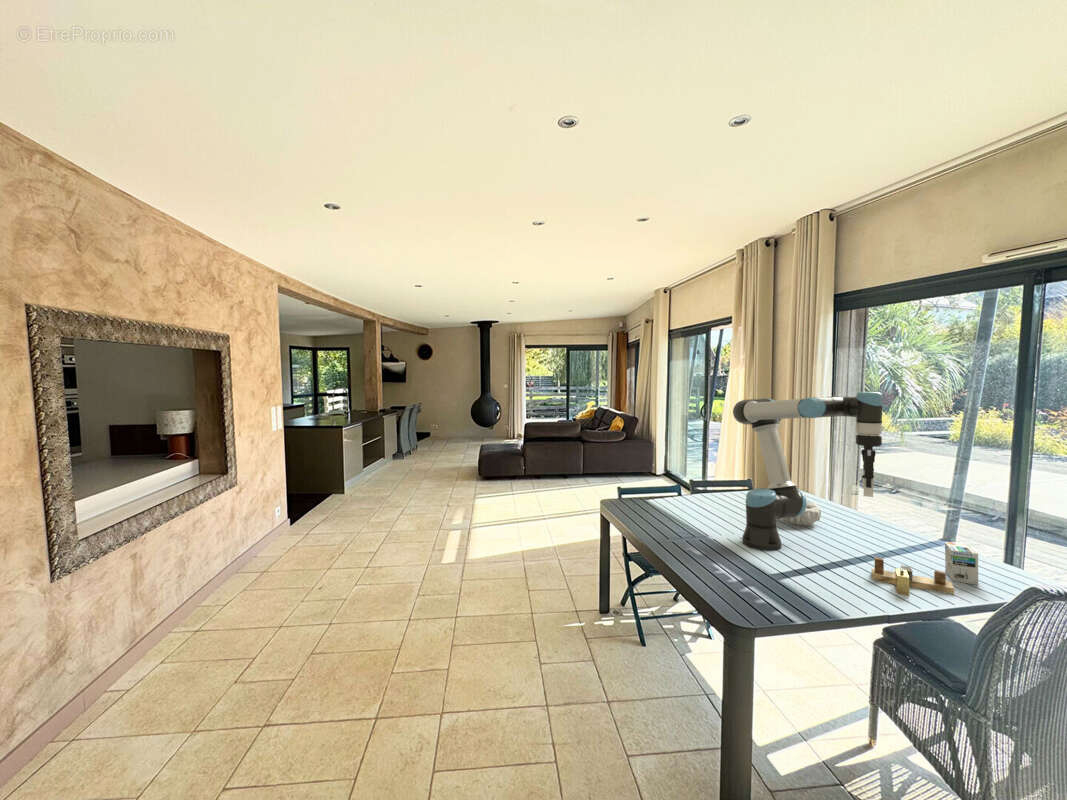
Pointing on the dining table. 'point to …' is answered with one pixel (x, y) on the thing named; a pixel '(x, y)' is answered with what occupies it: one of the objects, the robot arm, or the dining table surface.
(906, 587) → the lever cap
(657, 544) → the dining table surface
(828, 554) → the dining table surface
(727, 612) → the dining table surface
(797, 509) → the robot arm
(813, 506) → the bowl
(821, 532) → the dining table surface
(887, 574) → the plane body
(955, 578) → the light bulb box
